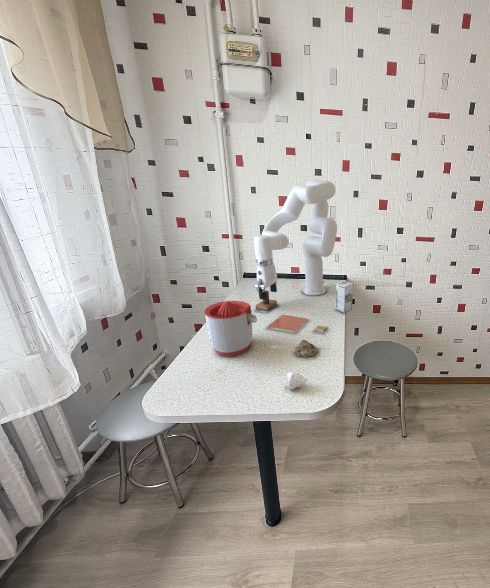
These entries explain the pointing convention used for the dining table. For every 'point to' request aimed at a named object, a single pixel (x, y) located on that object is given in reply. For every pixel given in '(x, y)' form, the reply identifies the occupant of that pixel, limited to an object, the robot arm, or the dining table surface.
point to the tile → (288, 322)
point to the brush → (266, 303)
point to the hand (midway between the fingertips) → (268, 295)
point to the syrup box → (344, 296)
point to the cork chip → (320, 328)
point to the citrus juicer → (230, 327)
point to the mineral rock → (306, 349)
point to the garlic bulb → (295, 380)
